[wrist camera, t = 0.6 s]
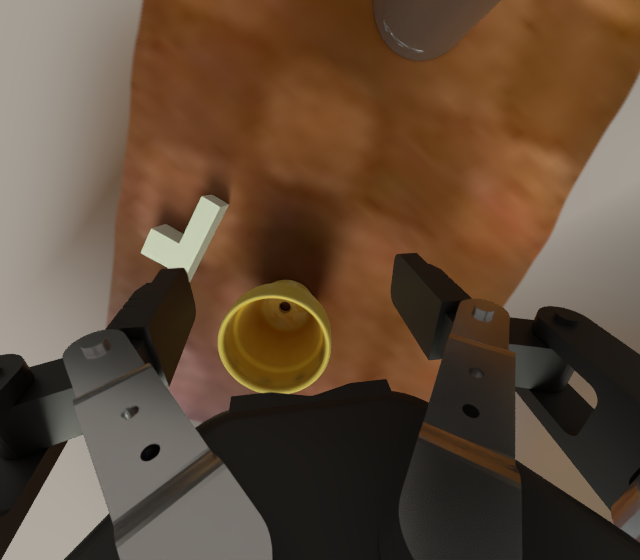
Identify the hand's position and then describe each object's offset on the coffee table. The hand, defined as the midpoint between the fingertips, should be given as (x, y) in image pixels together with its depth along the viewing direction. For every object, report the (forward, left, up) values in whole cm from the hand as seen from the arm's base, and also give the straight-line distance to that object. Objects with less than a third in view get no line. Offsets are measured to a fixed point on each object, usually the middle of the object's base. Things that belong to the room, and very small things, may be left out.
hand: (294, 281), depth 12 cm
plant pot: (+11, +3, -22) cm, 25 cm away
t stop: (+11, -11, -22) cm, 27 cm away
